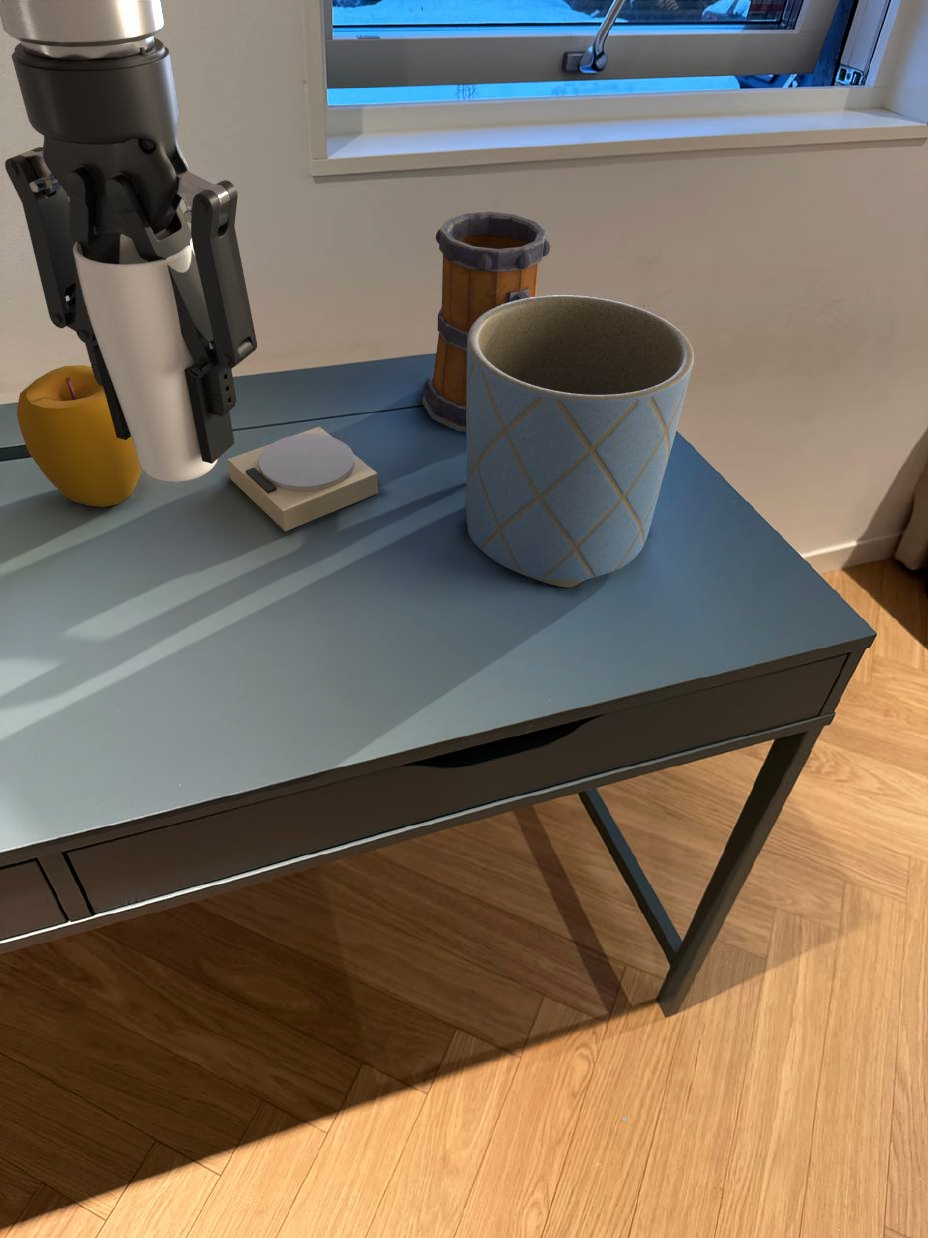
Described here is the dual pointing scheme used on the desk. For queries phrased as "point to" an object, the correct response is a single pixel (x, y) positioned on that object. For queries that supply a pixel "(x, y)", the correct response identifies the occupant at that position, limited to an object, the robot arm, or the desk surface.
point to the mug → (477, 294)
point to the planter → (569, 432)
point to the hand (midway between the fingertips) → (175, 439)
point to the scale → (303, 477)
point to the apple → (77, 437)
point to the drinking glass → (145, 356)
